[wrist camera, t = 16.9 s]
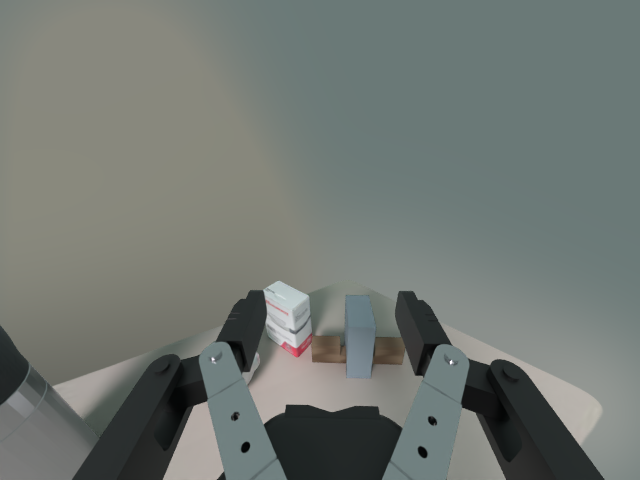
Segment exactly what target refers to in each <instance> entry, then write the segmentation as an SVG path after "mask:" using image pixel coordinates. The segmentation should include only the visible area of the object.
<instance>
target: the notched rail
mask: <svg viewBox="0 0 640 480" xmlns="http://www.w3.org/2000/svg"><path fill="white" fill-rule="evenodd" d="M311 347H312V361H313V362H324V363H346V346H340V336H312V344H311ZM404 352H405V345H404V342H403V339H402V338H395V337H375V342H374V351H373V359H372V364H398V365H402V361H403V356H404Z"/></svg>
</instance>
